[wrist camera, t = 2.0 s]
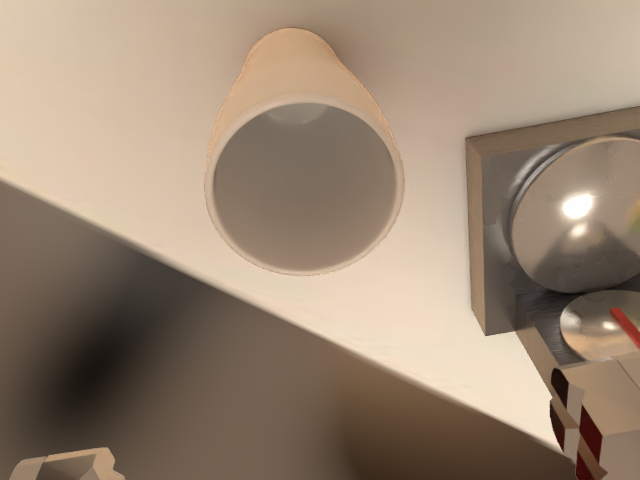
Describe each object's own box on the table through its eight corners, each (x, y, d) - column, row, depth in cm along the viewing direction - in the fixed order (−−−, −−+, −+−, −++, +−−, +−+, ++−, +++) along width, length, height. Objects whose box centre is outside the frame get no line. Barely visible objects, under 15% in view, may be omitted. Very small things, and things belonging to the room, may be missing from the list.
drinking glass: (270, -17, 29) (270, 46, 16) (376, 56, 32) (450, 163, 19) (207, 95, 32) (164, 225, 19) (309, 155, 34) (333, 308, 21)
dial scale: (465, 138, 34) (549, 239, 24) (682, 98, 34) (861, 183, 24) (471, 308, 41) (539, 445, 31) (653, 276, 41) (783, 403, 30)
